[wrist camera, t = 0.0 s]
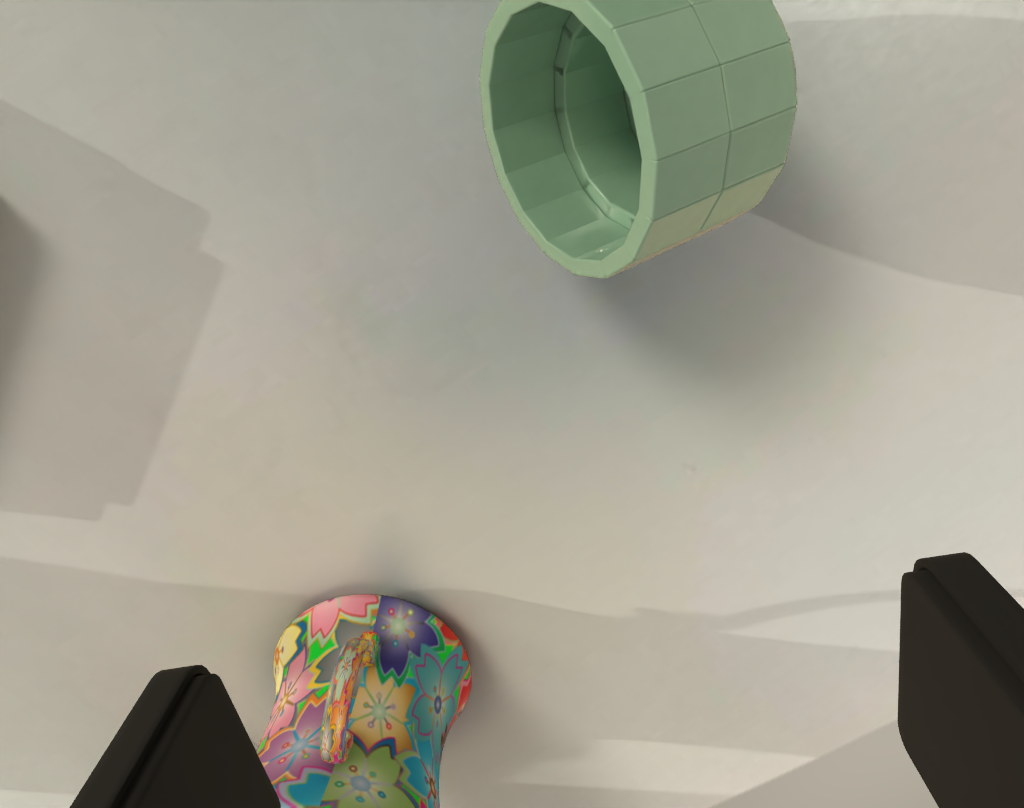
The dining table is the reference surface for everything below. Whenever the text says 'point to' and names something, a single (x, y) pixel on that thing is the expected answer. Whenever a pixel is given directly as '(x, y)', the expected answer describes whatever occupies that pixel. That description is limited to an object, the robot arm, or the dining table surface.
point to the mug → (363, 705)
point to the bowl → (634, 120)
